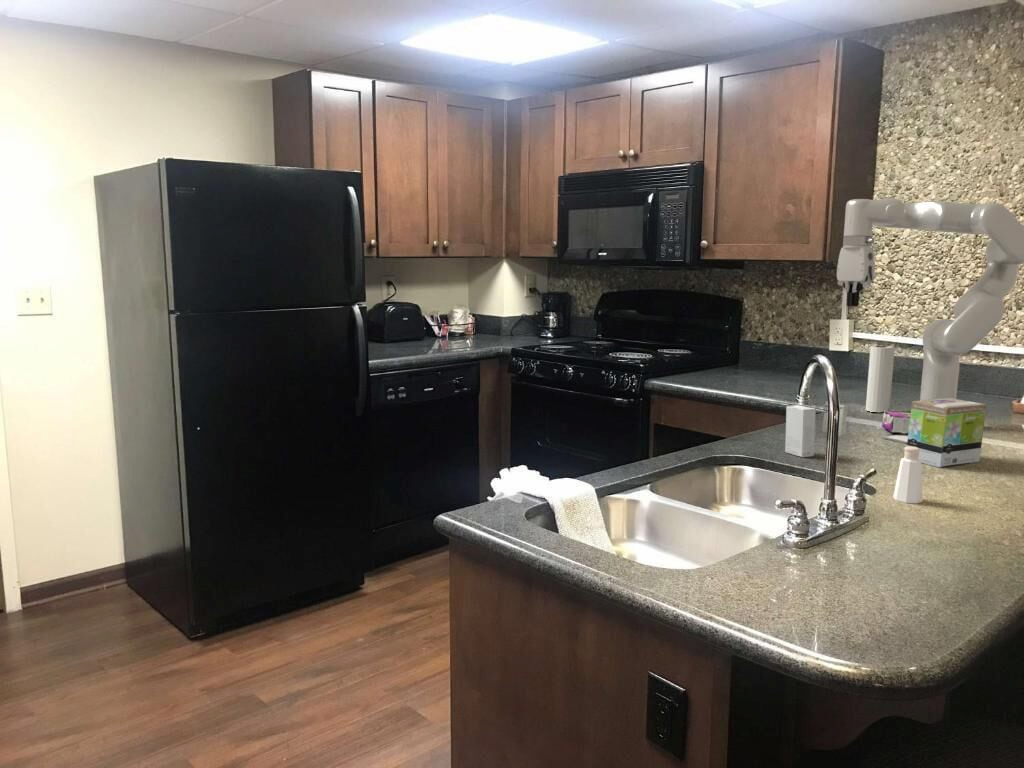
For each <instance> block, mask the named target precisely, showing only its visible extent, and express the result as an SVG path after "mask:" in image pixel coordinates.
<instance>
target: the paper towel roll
mask: <svg viewBox="0 0 1024 768" xmlns="http://www.w3.org/2000/svg"><path fill="white" fill-rule="evenodd" d="M895 348H896V347H895V346H892V347H891V346H886V345H871V346H870V349H869V362H868V375H867V387H866V388H867V389H866V400H865V411H866V410H867V411H870V412H869V413H871V412H881V411H885V410H887V409H888V408H890V409H891V407H890V406H891V395H892V385H893V374H894V373H893V371H894V363H895V362H894V360H895ZM867 411H866V412H867Z"/></svg>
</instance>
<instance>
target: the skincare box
mask: <svg viewBox="0 0 1024 768" xmlns="http://www.w3.org/2000/svg"><path fill="white" fill-rule="evenodd" d="M785 409H786V410H785V411H786V412H785V414H786V415H785V421H786V422H785V446H784V449H785V450H784V451H785V454H786V453H787V454H790V455H794V456H797V457H801V458H810V457H814V456H815V441H816V440H815V439H816V438H815V437H816V414H817V413H816V412H817V411H816V408H813V407H808V406H804V405H798V404H796V405H789V406H786V408H785Z"/></svg>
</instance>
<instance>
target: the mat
mask: <svg viewBox="0 0 1024 768" xmlns="http://www.w3.org/2000/svg"><path fill="white" fill-rule="evenodd" d="M882 438H883V440H886V439H887V440H888V441H891V440H892V441H891V442H895V441H898V442H897V443H899V442H903V443H902V444H904V443H907V441H908V434H903V433H899V434H894V435H889V436H882V437H881V439H882Z"/></svg>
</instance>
